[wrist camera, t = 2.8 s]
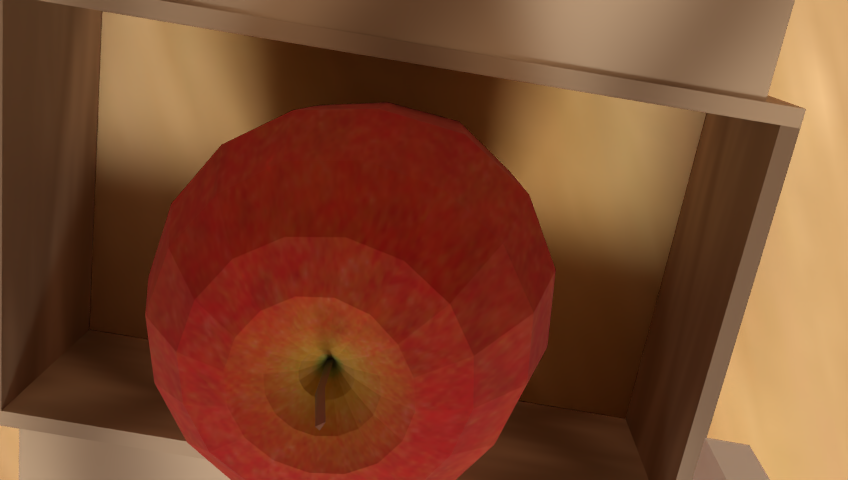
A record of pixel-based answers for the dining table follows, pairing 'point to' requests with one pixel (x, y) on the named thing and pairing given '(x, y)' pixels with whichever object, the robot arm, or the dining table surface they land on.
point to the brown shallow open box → (426, 45)
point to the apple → (348, 298)
